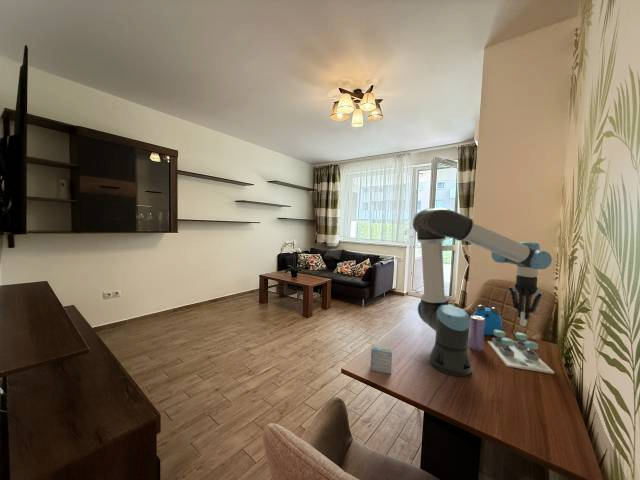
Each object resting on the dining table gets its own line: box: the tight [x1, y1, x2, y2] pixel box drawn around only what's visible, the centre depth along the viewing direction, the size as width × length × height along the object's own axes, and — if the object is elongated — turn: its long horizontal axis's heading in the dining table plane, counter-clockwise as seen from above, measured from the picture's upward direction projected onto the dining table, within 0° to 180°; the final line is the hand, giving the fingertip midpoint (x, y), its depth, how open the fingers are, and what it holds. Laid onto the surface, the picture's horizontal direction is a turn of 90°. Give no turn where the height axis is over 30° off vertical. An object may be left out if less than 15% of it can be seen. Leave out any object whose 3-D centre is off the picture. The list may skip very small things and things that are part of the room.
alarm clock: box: [473, 304, 503, 336], centre depth 135 cm, size 13×6×15 cm, turn 53°
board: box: [487, 337, 555, 375], centre depth 112 cm, size 16×22×3 cm
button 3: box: [494, 330, 506, 340], centre depth 121 cm, size 4×4×4 cm
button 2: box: [524, 340, 539, 353], centre depth 110 cm, size 4×4×4 cm
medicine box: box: [369, 344, 393, 375], centre depth 99 cm, size 8×4×9 cm, turn 74°
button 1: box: [501, 337, 515, 349], centre depth 112 cm, size 4×4×4 cm
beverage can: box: [467, 314, 485, 352], centre depth 118 cm, size 6×6×15 cm
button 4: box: [514, 331, 528, 343], centre depth 118 cm, size 4×4×4 cm
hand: (523, 325), depth 118 cm, fingers closed
